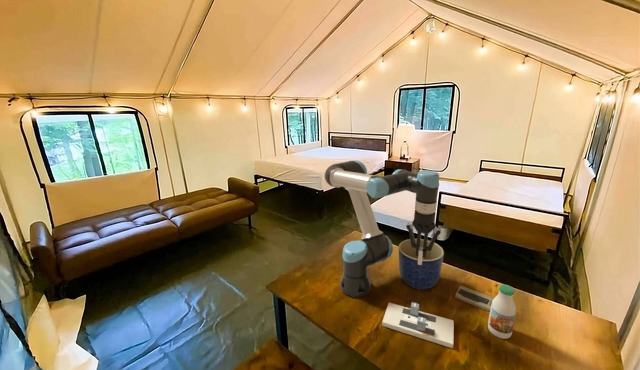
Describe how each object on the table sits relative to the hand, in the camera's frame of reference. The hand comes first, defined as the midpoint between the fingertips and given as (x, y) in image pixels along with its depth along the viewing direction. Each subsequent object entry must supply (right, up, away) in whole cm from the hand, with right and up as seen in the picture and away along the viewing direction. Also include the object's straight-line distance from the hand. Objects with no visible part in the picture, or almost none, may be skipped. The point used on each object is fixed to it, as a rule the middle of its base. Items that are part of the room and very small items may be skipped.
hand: (419, 262), depth 108 cm
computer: (+29, -21, +10) cm, 37 cm away
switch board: (-2, -25, -1) cm, 25 cm away
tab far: (-2, -22, +2) cm, 22 cm away
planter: (+9, -17, +24) cm, 31 cm away
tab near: (-2, -24, -6) cm, 24 cm away
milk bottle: (+29, -25, -6) cm, 39 cm away
